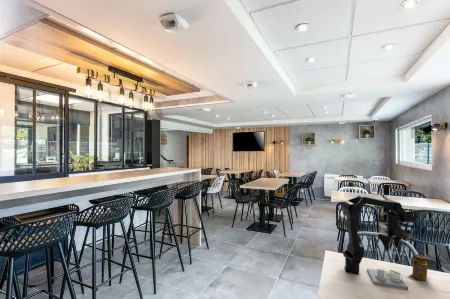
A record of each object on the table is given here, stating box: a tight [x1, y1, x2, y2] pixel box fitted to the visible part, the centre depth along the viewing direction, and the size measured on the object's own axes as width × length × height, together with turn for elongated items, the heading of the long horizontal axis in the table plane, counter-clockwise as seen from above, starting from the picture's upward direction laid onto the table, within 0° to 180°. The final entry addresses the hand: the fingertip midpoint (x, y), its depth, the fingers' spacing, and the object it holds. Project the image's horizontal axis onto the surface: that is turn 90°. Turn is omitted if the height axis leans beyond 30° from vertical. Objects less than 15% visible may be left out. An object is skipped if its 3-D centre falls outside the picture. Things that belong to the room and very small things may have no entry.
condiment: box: [407, 254, 431, 285], centre depth 126 cm, size 7×8×12 cm
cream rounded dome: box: [387, 269, 404, 281], centre depth 124 cm, size 7×5×3 cm
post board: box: [366, 267, 409, 290], centre depth 125 cm, size 15×13×6 cm
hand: (392, 249), depth 134 cm, fingers open, 9 cm apart
